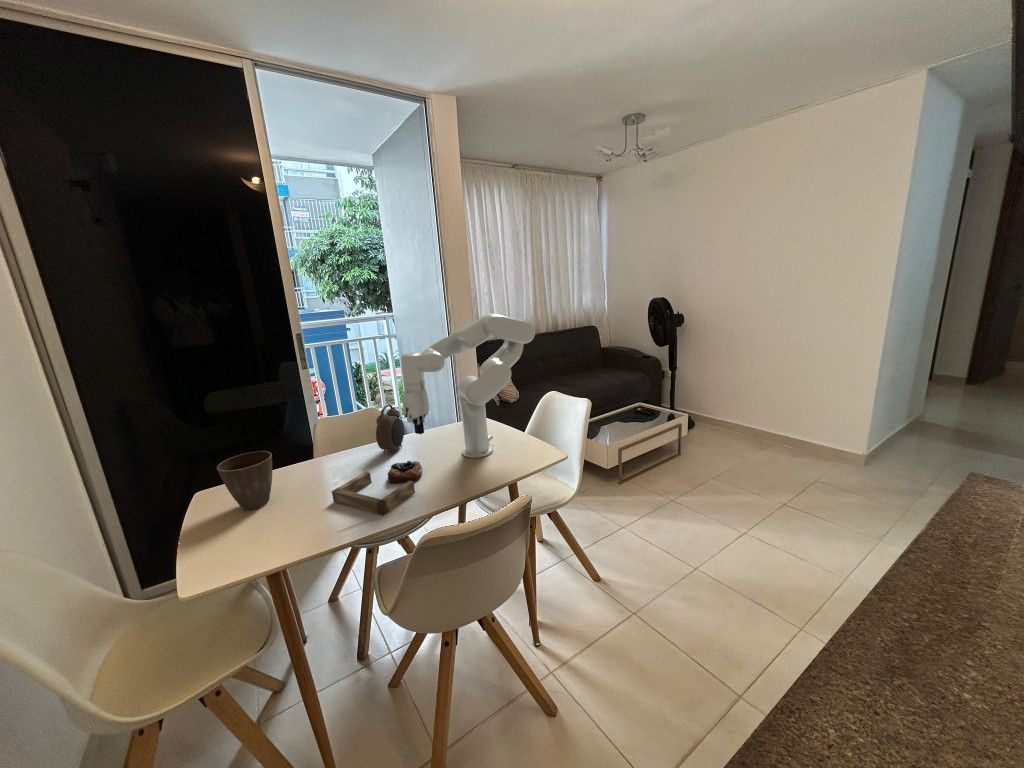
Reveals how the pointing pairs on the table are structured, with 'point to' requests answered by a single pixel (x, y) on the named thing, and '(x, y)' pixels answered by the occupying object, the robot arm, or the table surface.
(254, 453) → the plant pot
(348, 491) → the wooden u-shaped frame
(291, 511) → the table surface
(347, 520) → the table surface
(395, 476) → the pastry
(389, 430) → the alarm clock
